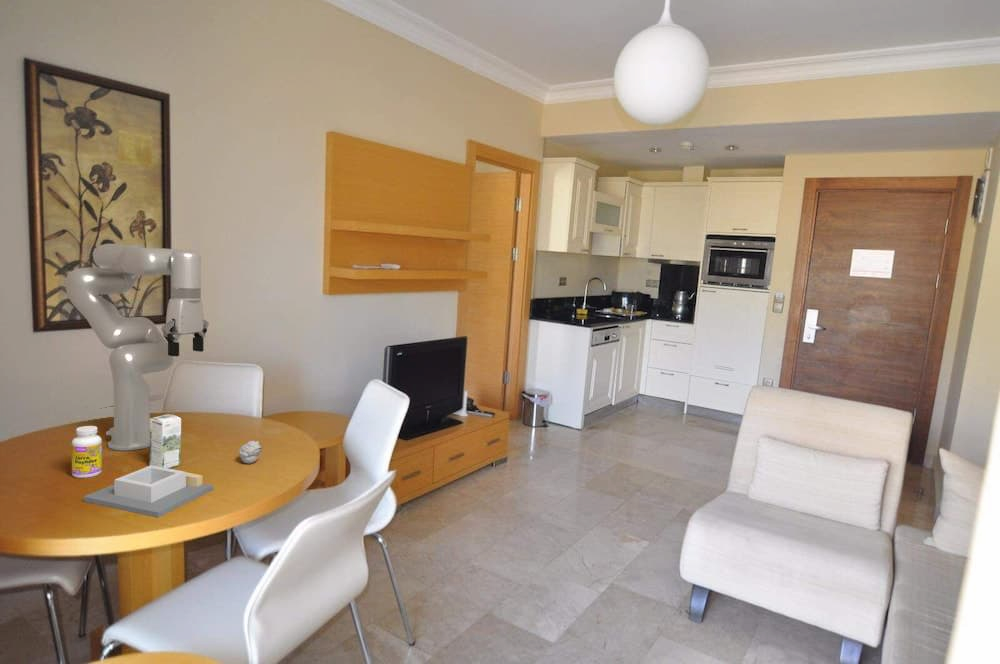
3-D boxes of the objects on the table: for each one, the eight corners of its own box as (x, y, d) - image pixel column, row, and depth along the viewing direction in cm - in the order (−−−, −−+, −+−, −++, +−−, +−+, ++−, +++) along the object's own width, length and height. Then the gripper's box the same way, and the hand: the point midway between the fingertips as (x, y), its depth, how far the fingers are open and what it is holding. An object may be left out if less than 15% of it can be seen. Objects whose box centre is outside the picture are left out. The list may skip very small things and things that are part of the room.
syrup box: (167, 461, 172) (168, 413, 170) (181, 465, 170) (181, 416, 168) (148, 466, 167) (148, 417, 165) (162, 471, 165) (162, 421, 163)
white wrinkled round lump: (250, 468, 171) (250, 445, 170) (233, 463, 174) (233, 440, 173) (266, 462, 177) (267, 440, 176) (249, 457, 180) (250, 435, 179)
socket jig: (83, 501, 143) (83, 480, 142) (144, 476, 160) (144, 457, 160) (158, 517, 138) (158, 496, 137) (213, 489, 155) (213, 470, 155)
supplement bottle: (69, 480, 154) (68, 432, 153) (74, 471, 160) (73, 425, 159) (100, 477, 158) (99, 431, 156) (103, 468, 163) (103, 423, 162)
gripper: (196, 292, 176) (196, 348, 179) (151, 294, 160) (151, 356, 162) (218, 294, 175) (217, 350, 177) (174, 296, 158) (175, 359, 160)
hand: (186, 353), depth 169 cm, fingers open, 9 cm apart
